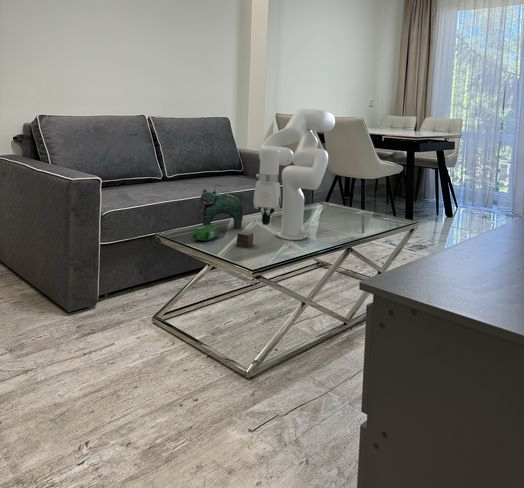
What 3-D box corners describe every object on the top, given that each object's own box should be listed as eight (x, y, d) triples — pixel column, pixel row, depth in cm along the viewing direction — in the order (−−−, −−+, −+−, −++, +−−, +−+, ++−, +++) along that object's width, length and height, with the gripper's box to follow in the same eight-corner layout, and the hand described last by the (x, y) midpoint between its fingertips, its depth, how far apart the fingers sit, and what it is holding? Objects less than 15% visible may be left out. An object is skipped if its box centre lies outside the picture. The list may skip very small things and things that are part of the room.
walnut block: (252, 244, 204) (253, 232, 204) (247, 247, 199) (248, 235, 199) (241, 243, 206) (242, 231, 206) (236, 245, 201) (237, 233, 201)
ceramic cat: (199, 228, 226) (201, 185, 225) (199, 225, 233) (200, 183, 232) (242, 229, 230) (244, 186, 228) (241, 226, 236) (243, 184, 235)
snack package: (189, 242, 203) (189, 229, 203) (206, 233, 218) (206, 222, 218) (204, 244, 201) (205, 232, 200) (220, 236, 216) (221, 224, 215)
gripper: (247, 177, 197) (244, 223, 198) (283, 181, 191) (280, 228, 192) (255, 175, 204) (252, 220, 205) (289, 179, 198) (286, 225, 199)
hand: (265, 224), depth 198 cm, fingers closed
